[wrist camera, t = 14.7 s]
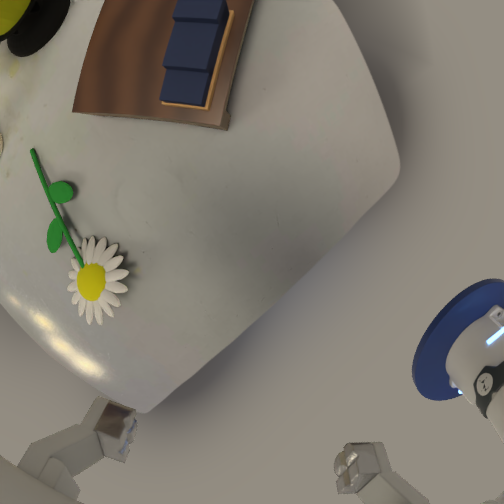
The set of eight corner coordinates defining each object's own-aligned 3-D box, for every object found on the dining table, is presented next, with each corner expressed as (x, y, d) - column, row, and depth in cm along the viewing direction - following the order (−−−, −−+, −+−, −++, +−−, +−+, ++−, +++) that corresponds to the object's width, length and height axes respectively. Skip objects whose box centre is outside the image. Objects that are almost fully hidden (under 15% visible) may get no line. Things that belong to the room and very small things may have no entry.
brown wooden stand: (265, -17, 27) (265, -41, 21) (227, 130, 35) (220, 126, 29) (139, -20, 27) (122, -39, 21) (97, 115, 34) (71, 112, 28)
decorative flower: (22, 174, 39) (97, 325, 43) (4, 174, 34) (82, 337, 38) (66, 126, 37) (152, 292, 41) (48, 121, 33) (139, 303, 36)
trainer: (191, 11, 24) (178, -11, 19) (234, 14, 24) (229, -9, 19) (164, 105, 28) (145, 97, 23) (209, 111, 28) (197, 102, 23)
